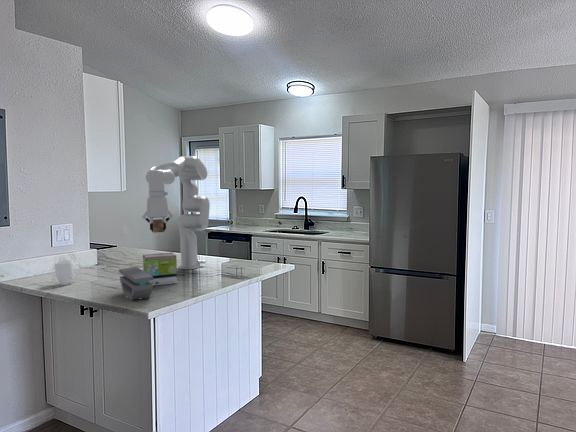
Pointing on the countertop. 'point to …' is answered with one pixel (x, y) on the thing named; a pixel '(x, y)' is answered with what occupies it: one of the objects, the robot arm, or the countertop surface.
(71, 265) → the mug
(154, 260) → the tea box
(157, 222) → the walnut block
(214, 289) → the countertop surface
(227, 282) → the countertop surface
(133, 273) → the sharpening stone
